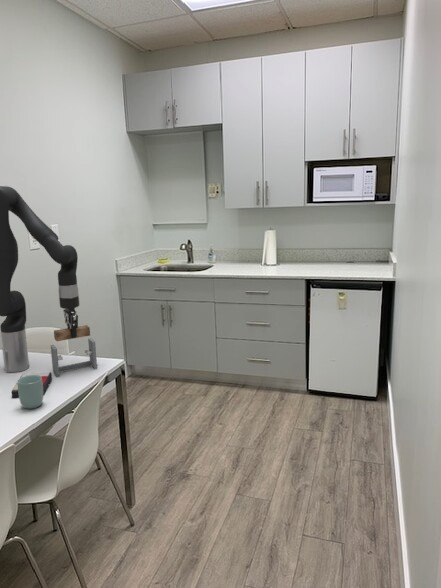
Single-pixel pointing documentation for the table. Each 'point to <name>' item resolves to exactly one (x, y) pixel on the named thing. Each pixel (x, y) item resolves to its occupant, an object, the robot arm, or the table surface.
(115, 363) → the table surface
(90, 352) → the shelf frame
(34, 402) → the cup
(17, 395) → the calculator
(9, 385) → the table surface
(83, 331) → the shelf bar
